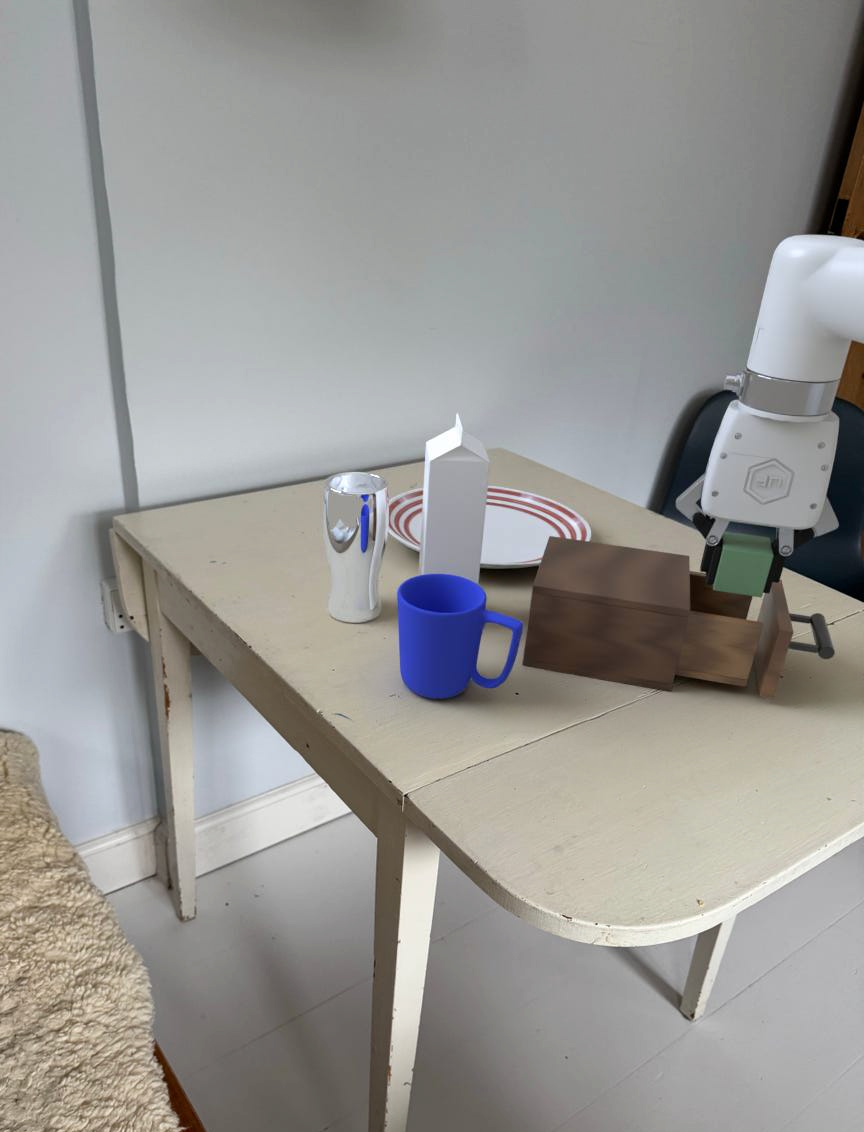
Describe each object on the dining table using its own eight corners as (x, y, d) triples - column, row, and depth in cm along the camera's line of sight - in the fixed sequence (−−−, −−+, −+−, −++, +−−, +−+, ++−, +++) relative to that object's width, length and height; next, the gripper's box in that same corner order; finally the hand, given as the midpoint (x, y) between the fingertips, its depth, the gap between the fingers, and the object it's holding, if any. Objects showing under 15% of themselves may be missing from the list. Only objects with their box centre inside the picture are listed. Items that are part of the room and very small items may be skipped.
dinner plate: (487, 489, 131) (489, 467, 130) (632, 552, 113) (637, 529, 111) (338, 528, 116) (338, 505, 115) (477, 609, 98) (480, 583, 96)
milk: (419, 629, 94) (429, 429, 83) (416, 602, 99) (426, 411, 88) (475, 630, 94) (493, 430, 83) (469, 603, 99) (486, 412, 88)
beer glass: (359, 631, 93) (362, 499, 85) (310, 611, 96) (308, 482, 89) (397, 608, 98) (403, 481, 90) (349, 589, 101) (351, 466, 94)
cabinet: (672, 631, 95) (689, 555, 91) (670, 691, 85) (690, 610, 80) (539, 609, 99) (549, 535, 94) (522, 665, 88) (532, 585, 84)
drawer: (808, 648, 91) (829, 586, 87) (823, 707, 82) (847, 640, 78) (633, 620, 95) (645, 559, 92) (628, 673, 86) (641, 608, 82)
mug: (494, 730, 78) (505, 635, 73) (377, 691, 83) (381, 599, 78) (527, 687, 85) (539, 596, 79) (416, 653, 89) (422, 565, 84)
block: (758, 578, 86) (769, 537, 83) (761, 598, 82) (773, 555, 80) (711, 571, 87) (721, 530, 84) (713, 590, 83) (723, 548, 81)
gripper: (685, 394, 74) (645, 586, 83) (903, 416, 70) (835, 615, 79) (685, 374, 80) (648, 554, 89) (884, 393, 76) (824, 580, 85)
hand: (737, 581), depth 84 cm, fingers closed on block, 4 cm apart
